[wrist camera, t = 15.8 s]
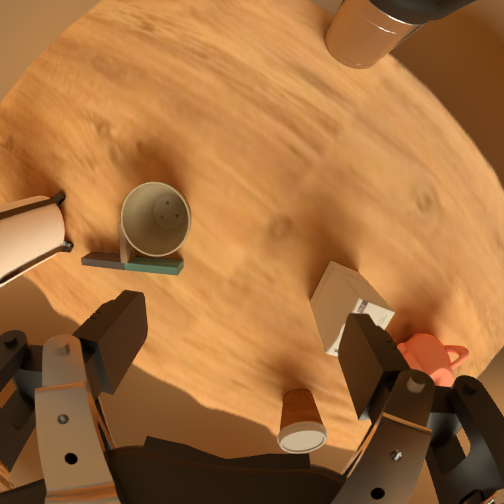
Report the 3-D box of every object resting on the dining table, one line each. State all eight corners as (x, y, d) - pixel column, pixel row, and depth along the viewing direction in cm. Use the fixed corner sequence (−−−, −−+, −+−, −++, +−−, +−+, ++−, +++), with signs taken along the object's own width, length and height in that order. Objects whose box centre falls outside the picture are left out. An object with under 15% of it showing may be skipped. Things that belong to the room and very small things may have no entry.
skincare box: (337, 311, 45) (362, 367, 31) (306, 300, 44) (323, 356, 30) (360, 269, 42) (398, 314, 28) (329, 256, 42) (359, 298, 28)
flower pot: (195, 248, 42) (182, 264, 36) (137, 234, 42) (117, 246, 35) (207, 185, 39) (196, 189, 33) (146, 173, 39) (126, 175, 32)
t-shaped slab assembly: (88, 217, 41) (77, 221, 38) (183, 220, 41) (176, 225, 38) (92, 258, 44) (81, 264, 40) (183, 267, 43) (177, 275, 40)
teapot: (428, 375, 50) (452, 412, 37) (366, 390, 51) (383, 435, 38) (446, 318, 45) (480, 354, 32) (379, 331, 46) (406, 377, 33)
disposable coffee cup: (329, 393, 51) (339, 436, 40) (299, 416, 53) (303, 458, 42) (296, 377, 50) (302, 423, 38) (266, 402, 52) (266, 446, 41)
